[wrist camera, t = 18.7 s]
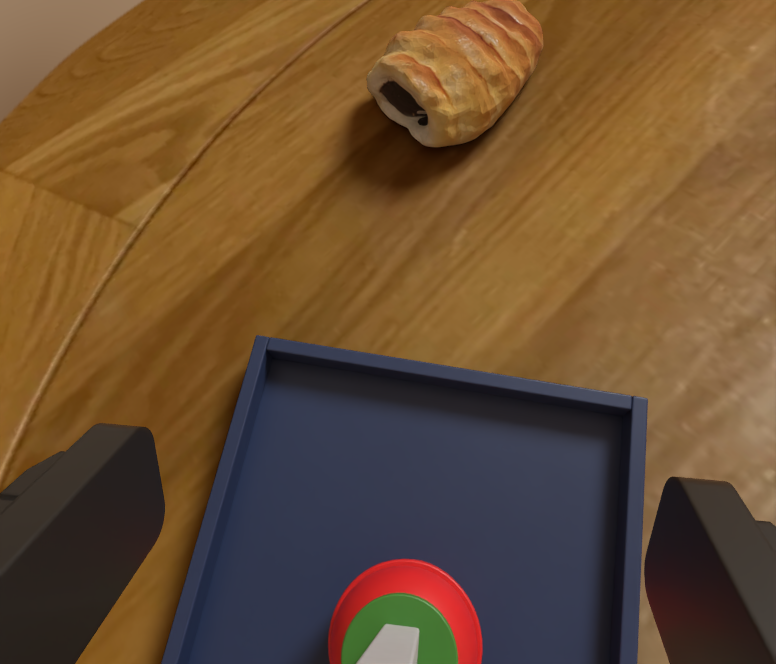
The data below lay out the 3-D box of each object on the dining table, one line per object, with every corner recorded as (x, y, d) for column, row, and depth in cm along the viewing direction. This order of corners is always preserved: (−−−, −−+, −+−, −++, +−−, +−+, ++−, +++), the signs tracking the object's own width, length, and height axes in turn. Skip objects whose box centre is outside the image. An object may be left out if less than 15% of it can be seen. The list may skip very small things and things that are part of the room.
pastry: (480, 6, 33) (487, -59, 30) (571, 70, 31) (590, 8, 28) (358, 100, 31) (349, 43, 28) (446, 174, 29) (448, 122, 26)
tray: (168, 700, 22) (146, 712, 20) (267, 348, 27) (255, 334, 25) (614, 815, 20) (630, 839, 18) (633, 408, 24) (648, 397, 23)
